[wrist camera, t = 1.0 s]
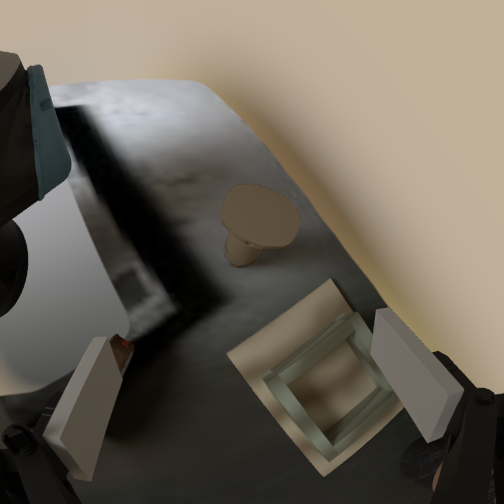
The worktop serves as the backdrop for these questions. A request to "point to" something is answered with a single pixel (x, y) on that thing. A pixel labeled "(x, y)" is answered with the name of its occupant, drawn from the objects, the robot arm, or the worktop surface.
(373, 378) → the socket board
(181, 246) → the worktop surface
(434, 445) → the travel mug
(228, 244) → the handle
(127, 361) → the tin
